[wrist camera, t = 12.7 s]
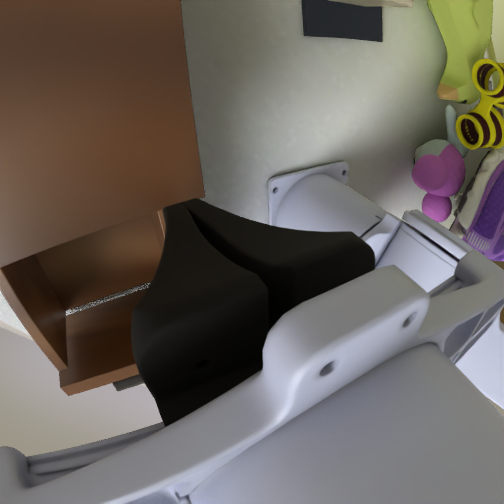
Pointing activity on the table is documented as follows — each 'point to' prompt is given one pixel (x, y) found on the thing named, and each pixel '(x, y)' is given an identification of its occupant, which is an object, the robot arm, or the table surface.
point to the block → (378, 2)
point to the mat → (342, 20)
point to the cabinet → (91, 118)
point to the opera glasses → (484, 110)
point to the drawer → (87, 300)
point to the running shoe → (484, 208)
